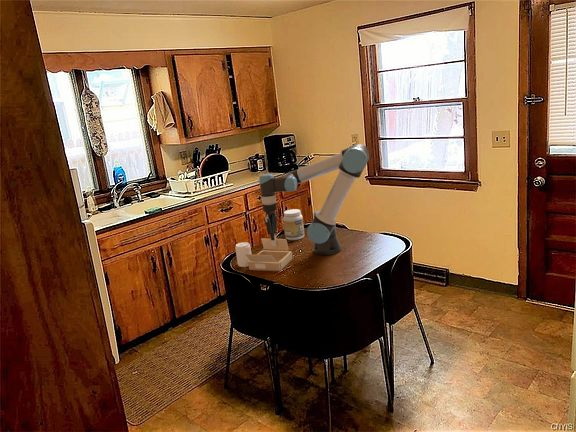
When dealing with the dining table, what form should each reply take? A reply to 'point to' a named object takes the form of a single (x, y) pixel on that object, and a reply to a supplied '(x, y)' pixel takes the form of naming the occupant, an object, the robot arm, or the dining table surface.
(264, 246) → the back flap
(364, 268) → the dining table surface
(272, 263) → the carton
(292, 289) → the dining table surface
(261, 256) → the front flap
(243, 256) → the beverage can
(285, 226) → the supplement tub
